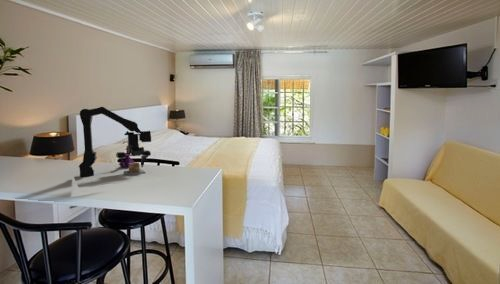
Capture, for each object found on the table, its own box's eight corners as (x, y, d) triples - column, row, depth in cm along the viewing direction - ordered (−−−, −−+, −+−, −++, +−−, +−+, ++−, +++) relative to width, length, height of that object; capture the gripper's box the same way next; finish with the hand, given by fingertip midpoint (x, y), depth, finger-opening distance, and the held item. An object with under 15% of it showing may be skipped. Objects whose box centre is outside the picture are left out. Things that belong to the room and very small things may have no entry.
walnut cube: (130, 172, 175) (130, 164, 174) (128, 171, 179) (128, 163, 178) (139, 171, 178) (139, 163, 177) (137, 170, 182) (137, 162, 181)
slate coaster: (127, 175, 171) (127, 173, 171) (123, 172, 180) (123, 171, 180) (145, 173, 177) (145, 171, 177) (140, 170, 185) (140, 169, 185)
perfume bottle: (135, 167, 197) (134, 140, 196) (129, 169, 190) (128, 141, 188) (124, 167, 198) (123, 140, 196) (118, 169, 191) (117, 141, 189)
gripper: (119, 144, 165) (120, 171, 166) (152, 142, 175) (153, 168, 177) (115, 142, 174) (116, 169, 175) (147, 141, 185) (148, 166, 186)
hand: (134, 168), depth 178 cm, fingers open, 9 cm apart
